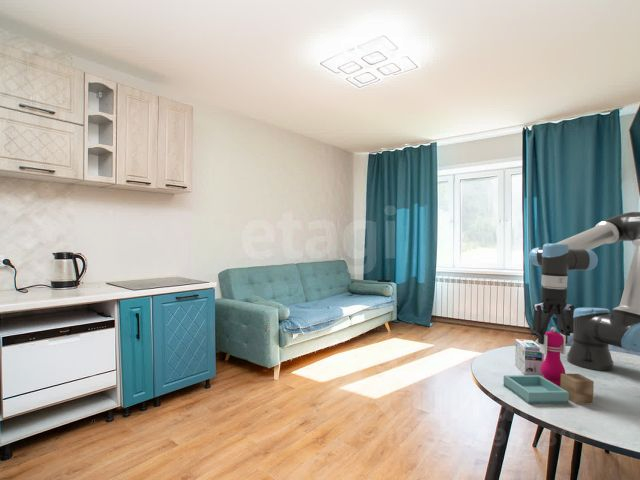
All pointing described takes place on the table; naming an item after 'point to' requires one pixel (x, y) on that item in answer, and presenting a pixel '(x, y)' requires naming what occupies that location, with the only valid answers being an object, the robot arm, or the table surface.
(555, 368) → the pepper mill
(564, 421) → the table surface
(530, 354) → the light bulb box
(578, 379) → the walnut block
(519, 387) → the tray
